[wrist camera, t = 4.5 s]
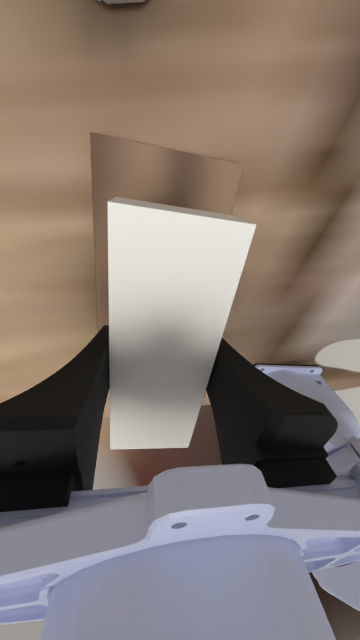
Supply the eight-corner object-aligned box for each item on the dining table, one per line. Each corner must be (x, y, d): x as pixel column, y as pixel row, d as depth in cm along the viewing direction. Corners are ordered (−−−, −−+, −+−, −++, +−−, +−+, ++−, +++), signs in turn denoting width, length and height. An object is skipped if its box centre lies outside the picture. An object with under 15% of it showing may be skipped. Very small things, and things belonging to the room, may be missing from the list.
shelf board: (184, 420, 17) (188, 447, 15) (114, 420, 16) (110, 449, 14) (237, 216, 10) (256, 224, 8) (116, 196, 9) (107, 201, 7)
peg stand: (237, 165, 17) (270, 161, 12) (192, 354, 26) (201, 390, 21) (94, 135, 15) (72, 118, 10) (100, 350, 24) (90, 389, 20)
